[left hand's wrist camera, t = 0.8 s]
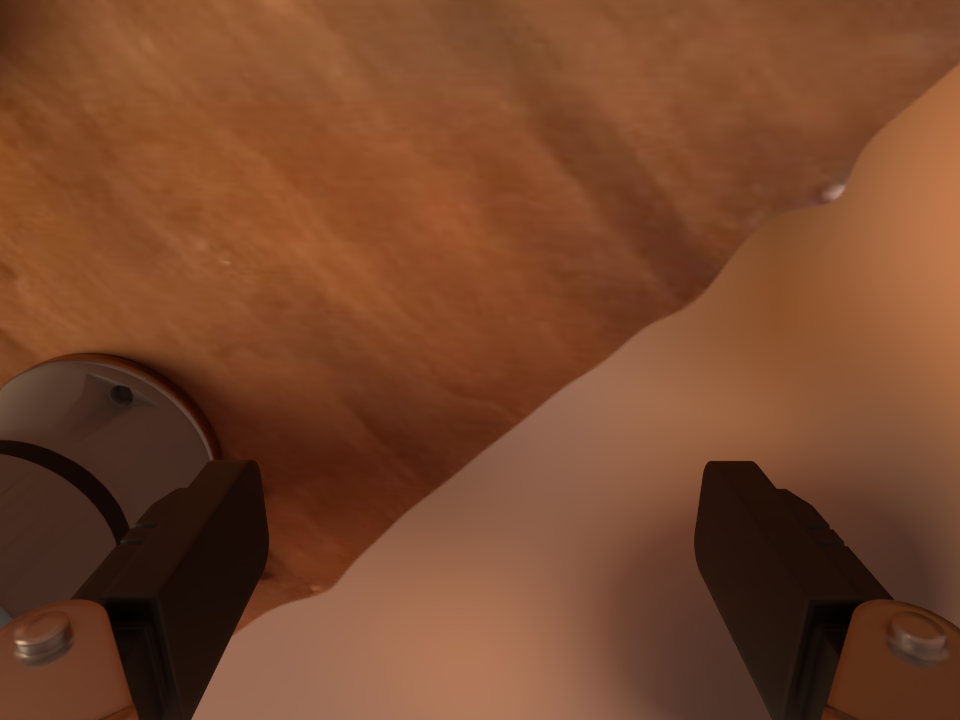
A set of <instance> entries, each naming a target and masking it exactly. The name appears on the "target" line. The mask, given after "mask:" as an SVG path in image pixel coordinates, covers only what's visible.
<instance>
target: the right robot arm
mask: <svg viewBox="0 0 960 720" xmlns="http://www.w3.org/2000/svg"><path fill="white" fill-rule="evenodd" d="M211 460H222V459H221V453H220V449H219V446H218V443H217V440H216V437H215V435H214V433H213V431H212V429H211V427H210V425H209V423H208V421H207V420H206V418H205V417H204V415H203V414H202V412H201V411H200V410H199V409H198V407H197V406H196V405H195V404H194V402H193V401H192V400H191V399H190V398H189V397H188V396H187V395H186V394H185V393H184V392H182V391H181V390H180V389H179V388H178V387H177V386H175V385H174V384H173V383H171V382H170V381H169V380H167V379H166V378H164V377H163V376H161V375H159V374H158V373H156V372H154V371H152V370H150V369H148V368H146V367H144V366H142V365H139V364H137V363H134V362H131V361H128V360H125V359H122V358H118V357H113V356H108V355H101V354H72V355H65V356H61V357H56V358H53V359H50V360H47V361H44V362H42V363H40V364H38V365H36V366H34V367H32V368H30V369H28V370H26V371H24V372H23V373H21V374H19V375H17V376H16V377H14V378H12V379H11V380H10V381H8V382H7V383H6V384H5V385H3V386H2V387H1V389H0V629H1V628H2V627H3V626H5V625H6V624H7V623H9V622H10V621H12V620H14V619H15V618H17V617H19V616H21V615H23V614H25V613H27V612H29V611H31V610H33V609H36V608H38V607H41V606H44V605H47V604H50V603H55V602H59V601H65V600H70V599H71V598H72V596H73V595H74V594H75V593H76V592H77V591H78V589H79V588H80V587H81V586H82V585H83V584H84V583H85V581H86V580H87V579H88V578H89V577H90V576H91V574H92V573H93V572H94V571H95V570H96V569H97V567H98V566H99V565H100V564H101V563H102V562H103V560H104V559H105V558H106V557H107V556H108V555H109V554H110V552H111V551H112V550H113V549H114V548H115V547H116V545H120V544H121V540H122V538H123V537H124V536H125V535H126V534H127V533H128V531H129V530H130V529H131V528H134V527H135V523H136V522H137V521H138V520H139V519H140V518H141V516H142V515H143V514H144V513H145V512H146V511H147V509H148V508H149V507H150V506H151V505H152V504H153V503H155V502H157V501H158V500H160V499H161V498H163V497H164V496H166V495H168V494H169V493H171V492H172V491H174V490H175V489H177V488H188V486H189V485H190V484H191V483H192V481H193V480H194V479H195V478H196V476H197V475H198V474H199V473H200V471H201V470H202V469H203V468H204V466H205V465H206V464H207V463H208V462H209V461H211Z"/></svg>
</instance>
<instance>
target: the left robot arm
mask: <svg viewBox="0 0 960 720" xmlns="http://www.w3.org/2000/svg"><path fill="white" fill-rule="evenodd" d="M694 547H695V556H696V561H697V565H698V568H699V571H700V573H701V575H702V577H703V579H704V581H705V583H706V585H707V587H708V589H709V591H710V593H711V595H712V598H713V600H714V602H715V604H716V606H717V608H718V610H719V612H720V614H721V616H722V618H723V620H724V622H725V624H726V626H727V628H728V630H729V632H730V634H731V636H732V638H733V640H734V642H735V644H736V646H737V648H738V651H739V652H740V655H741V657H742V659H743V661H744V663H745V665H746V667H747V669H748V671H749V673H750V675H751V677H752V679H753V681H754V683H755V685H756V687H757V689H758V691H759V693H760V695H761V697H762V699H763V701H764V704H765V705H766V707H767V710H768V712H769V714H770V716H771V718H772V720H960V629H959V628H958V627H957V626H955V625H954V624H953V623H951V622H949V621H948V620H946V619H945V618H943V617H941V616H939V615H937V614H935V613H933V612H931V611H929V610H927V609H924V608H922V607H919V606H916V605H913V604H910V603H905V602H901V601H895V600H894V599H893V598H892V597H891V596H890V595H889V593H888V592H887V591H886V590H885V589H884V588H883V586H882V585H881V584H880V583H879V582H878V581H877V580H876V578H875V577H874V576H873V575H872V574H871V573H870V572H869V570H868V569H867V568H866V567H865V566H864V565H863V564H862V562H861V561H860V560H859V559H858V558H857V557H856V555H855V554H854V553H853V552H852V551H851V550H850V549H849V547H848V546H844V542H843V540H842V539H841V538H840V537H839V536H838V535H837V534H836V532H835V531H834V530H830V528H829V524H828V523H827V522H826V521H825V520H824V519H823V517H822V516H821V515H820V514H819V513H818V512H817V511H816V509H815V508H814V507H813V506H812V505H810V504H809V503H807V502H806V501H804V500H802V499H801V498H799V497H798V496H796V495H795V494H793V493H791V492H790V491H788V490H787V489H776V488H775V486H774V485H773V484H772V483H771V481H770V480H769V479H768V478H767V476H766V475H765V474H764V473H763V472H762V470H761V469H760V468H759V467H758V465H757V464H756V463H754V462H753V461H709V462H708V463H707V464H706V466H705V469H704V472H703V479H702V486H701V493H700V500H699V507H698V514H697V521H696V528H695V536H694ZM268 549H269V533H268V525H267V518H266V511H265V504H264V497H263V489H262V482H261V475H260V470H259V466H258V464H257V463H256V461H254V460H211V461H209V462H208V463H207V464H206V465H205V466H204V468H203V469H202V470H201V471H200V473H199V474H198V475H197V476H196V478H195V479H194V480H193V481H192V483H191V484H190V485H189V486H188V488H177V489H175V490H174V491H172V492H171V493H169V494H168V495H166V496H164V497H163V498H161V499H160V500H158V501H157V502H155V503H153V504H152V505H151V506H150V507H149V508H148V509H147V511H146V512H145V513H144V514H143V515H142V516H141V518H140V519H139V520H138V521H137V522H136V523H135V527H134V528H131V529H130V530H129V531H128V533H127V534H126V535H125V536H124V537H123V538H122V540H121V544H120V545H116V547H115V548H114V549H113V550H112V551H111V552H110V554H109V555H108V556H107V557H106V558H105V559H104V560H103V562H102V563H101V564H100V565H99V566H98V567H97V569H96V570H95V571H94V572H93V573H92V574H91V576H90V577H89V578H88V579H87V580H86V581H85V583H84V584H83V585H82V586H81V587H80V588H79V589H78V591H77V592H76V593H75V594H74V595H73V596H72V598H71V599H70V600H65V601H59V602H55V603H50V604H47V605H44V606H41V607H38V608H36V609H33V610H31V611H29V612H27V613H25V614H23V615H21V616H19V617H17V618H15V619H14V620H12V621H10V622H9V623H7V624H6V625H5V626H3V627H2V628H1V629H0V720H191V719H192V717H193V715H194V713H195V711H196V709H197V707H198V704H199V702H200V700H201V698H202V696H203V694H204V692H205V690H206V688H207V686H208V684H209V682H210V680H211V678H212V676H213V673H214V671H215V669H216V667H217V665H218V663H219V661H220V659H221V657H222V655H223V653H224V651H225V649H226V647H227V645H228V643H229V640H230V638H231V636H232V634H233V632H234V630H235V628H236V626H237V624H238V622H239V620H240V618H241V616H242V614H243V612H244V610H245V607H246V605H247V603H248V601H249V599H250V597H251V595H252V593H253V591H254V589H255V587H256V585H257V583H258V581H259V579H260V577H261V574H262V572H263V570H264V568H265V565H266V561H267V556H268Z"/></svg>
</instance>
